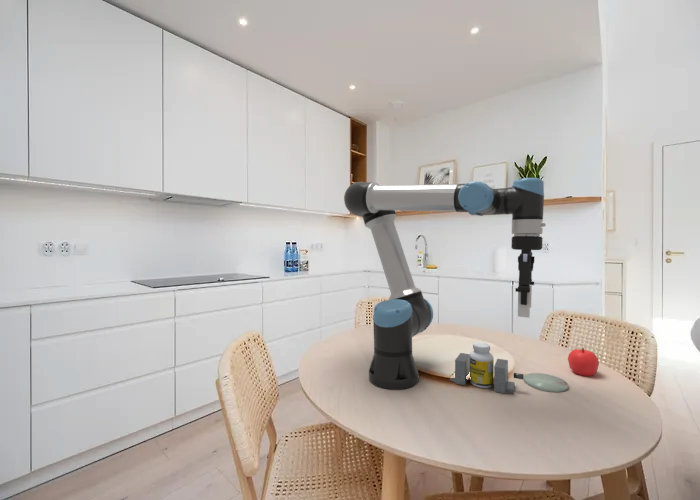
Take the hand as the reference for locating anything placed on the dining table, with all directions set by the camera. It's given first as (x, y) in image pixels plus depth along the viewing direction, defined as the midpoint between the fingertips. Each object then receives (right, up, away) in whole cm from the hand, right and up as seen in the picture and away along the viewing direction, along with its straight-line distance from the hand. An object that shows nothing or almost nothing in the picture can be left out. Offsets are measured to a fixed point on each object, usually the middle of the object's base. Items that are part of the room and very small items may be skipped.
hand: (524, 311), depth 92 cm
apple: (+24, -21, +11) cm, 34 cm away
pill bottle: (-10, -22, +5) cm, 25 cm away
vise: (-9, -22, +4) cm, 24 cm away
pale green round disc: (+8, -22, +4) cm, 23 cm away
